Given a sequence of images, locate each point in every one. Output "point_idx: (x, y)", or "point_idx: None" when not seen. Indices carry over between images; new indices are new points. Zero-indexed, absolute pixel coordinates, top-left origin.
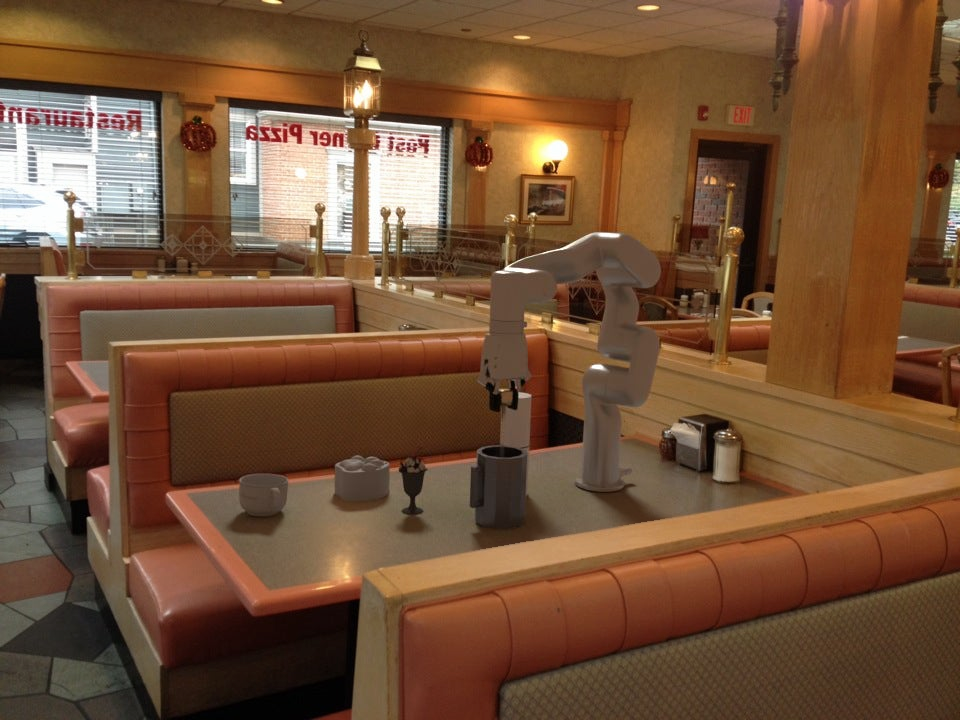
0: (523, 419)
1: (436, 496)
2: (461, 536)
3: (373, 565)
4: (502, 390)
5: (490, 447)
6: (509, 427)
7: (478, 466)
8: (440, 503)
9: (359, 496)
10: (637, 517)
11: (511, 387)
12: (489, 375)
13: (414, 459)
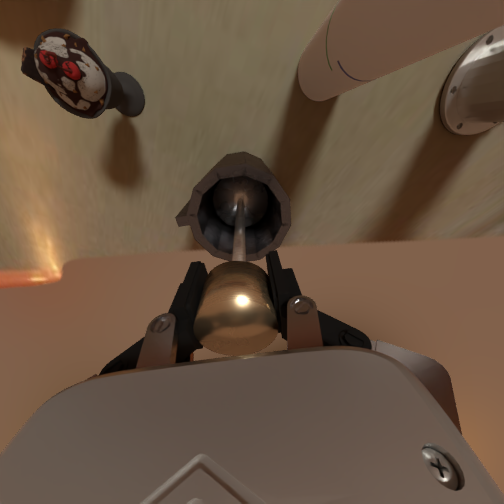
0: (427, 54)
1: (183, 14)
2: None
3: (78, 254)
4: (228, 330)
5: (232, 176)
6: (368, 35)
7: (188, 222)
8: (181, 69)
9: None
10: (389, 232)
11: (286, 323)
12: (133, 380)
13: (56, 82)
